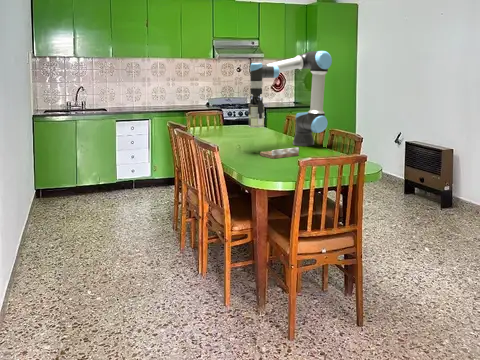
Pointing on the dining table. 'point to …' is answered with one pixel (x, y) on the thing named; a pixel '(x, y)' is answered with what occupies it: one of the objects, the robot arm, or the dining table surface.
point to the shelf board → (281, 153)
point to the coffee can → (254, 116)
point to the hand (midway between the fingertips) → (256, 122)
